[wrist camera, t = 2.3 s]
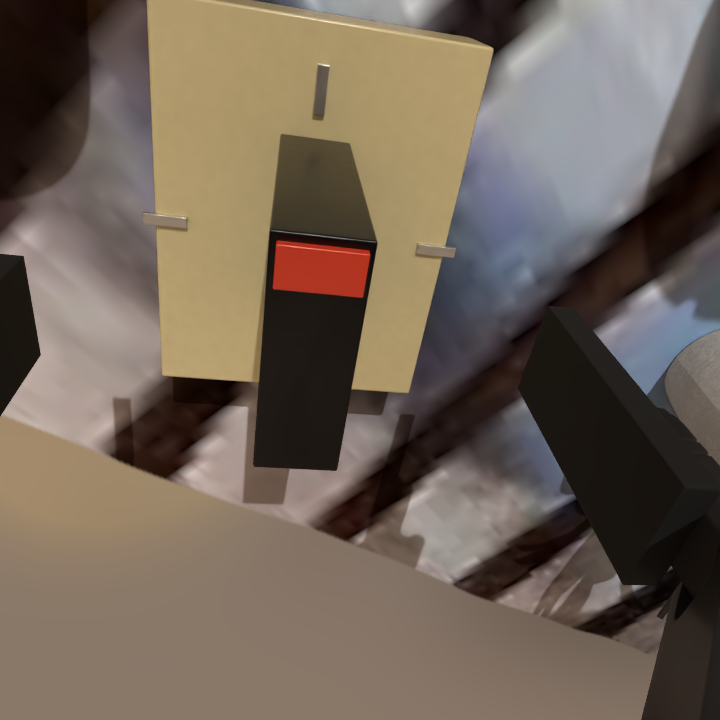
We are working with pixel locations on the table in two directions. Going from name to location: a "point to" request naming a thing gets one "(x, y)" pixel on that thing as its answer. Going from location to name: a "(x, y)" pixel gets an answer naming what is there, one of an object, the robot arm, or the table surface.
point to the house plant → (698, 390)
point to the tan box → (260, 156)
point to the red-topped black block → (312, 304)
